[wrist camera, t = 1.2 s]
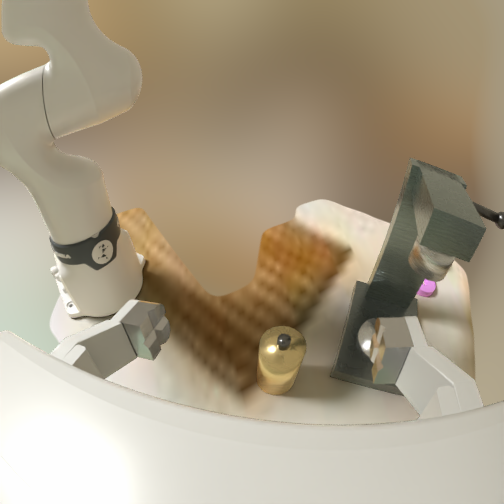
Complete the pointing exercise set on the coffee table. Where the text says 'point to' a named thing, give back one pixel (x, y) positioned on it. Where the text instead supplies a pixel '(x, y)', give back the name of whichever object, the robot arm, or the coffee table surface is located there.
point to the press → (410, 261)
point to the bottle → (279, 359)
